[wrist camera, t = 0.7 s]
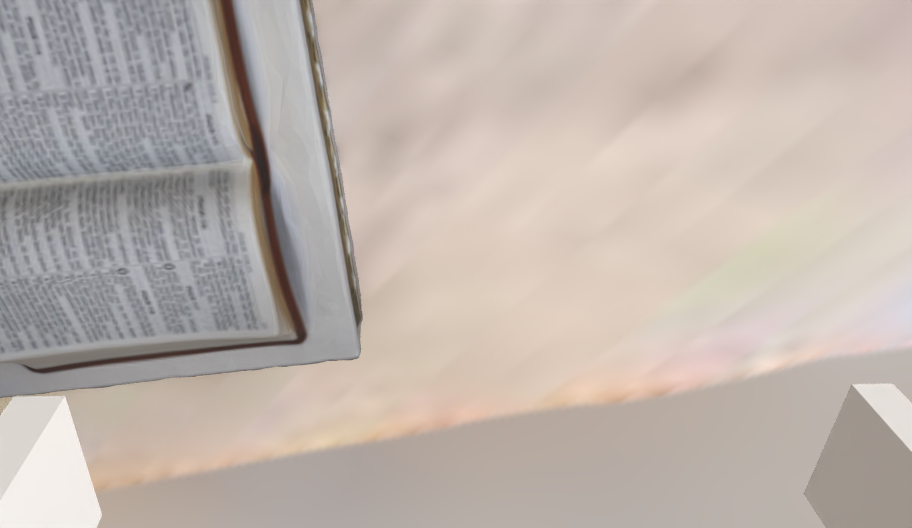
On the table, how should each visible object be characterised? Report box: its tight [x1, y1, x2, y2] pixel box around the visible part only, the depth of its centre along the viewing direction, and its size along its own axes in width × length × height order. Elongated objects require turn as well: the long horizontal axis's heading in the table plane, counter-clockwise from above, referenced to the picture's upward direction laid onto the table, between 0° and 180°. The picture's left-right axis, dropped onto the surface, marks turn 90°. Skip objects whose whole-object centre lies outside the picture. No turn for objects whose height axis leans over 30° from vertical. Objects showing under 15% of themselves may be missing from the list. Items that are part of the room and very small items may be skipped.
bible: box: [0, 0, 362, 398], centre depth 31 cm, size 23×27×10 cm
